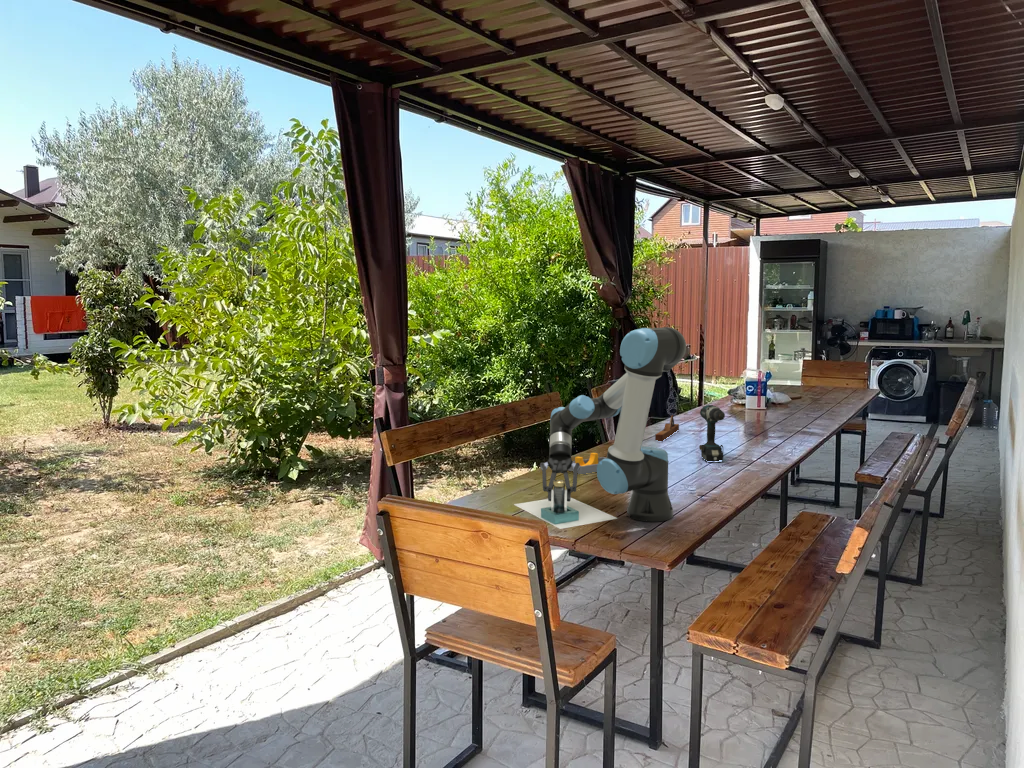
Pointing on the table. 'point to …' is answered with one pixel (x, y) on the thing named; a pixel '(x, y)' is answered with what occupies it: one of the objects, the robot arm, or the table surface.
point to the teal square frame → (560, 515)
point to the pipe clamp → (591, 461)
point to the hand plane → (667, 430)
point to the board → (585, 511)
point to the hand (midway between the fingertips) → (558, 509)
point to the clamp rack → (587, 467)
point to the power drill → (711, 433)
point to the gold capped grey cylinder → (559, 495)
